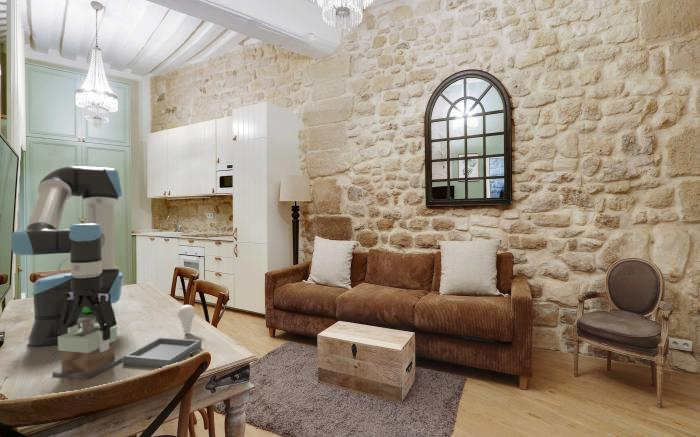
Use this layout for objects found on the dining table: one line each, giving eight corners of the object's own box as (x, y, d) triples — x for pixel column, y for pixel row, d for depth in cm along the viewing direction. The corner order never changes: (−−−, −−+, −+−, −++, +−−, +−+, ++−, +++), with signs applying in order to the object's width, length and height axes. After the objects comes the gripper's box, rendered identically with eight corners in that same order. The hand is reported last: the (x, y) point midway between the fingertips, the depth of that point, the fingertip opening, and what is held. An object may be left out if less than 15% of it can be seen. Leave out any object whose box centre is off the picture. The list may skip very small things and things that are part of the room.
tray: (123, 364, 109) (123, 356, 109) (159, 344, 125) (159, 337, 125) (169, 368, 106) (169, 360, 106) (201, 347, 122) (201, 340, 122)
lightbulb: (176, 337, 131) (176, 307, 131) (179, 331, 137) (179, 303, 137) (194, 335, 133) (194, 306, 132) (197, 330, 139) (196, 302, 138)
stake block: (52, 375, 102) (50, 324, 101) (90, 357, 113) (88, 311, 113) (88, 379, 100) (86, 326, 99) (122, 360, 111) (121, 313, 111)
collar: (87, 353, 100) (87, 339, 100) (58, 350, 102) (57, 336, 102) (116, 339, 110) (116, 327, 110) (89, 337, 112) (89, 325, 112)
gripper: (42, 276, 104) (44, 351, 105) (109, 279, 100) (110, 357, 101) (66, 271, 111) (68, 341, 112) (129, 274, 107) (131, 346, 108)
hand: (88, 349), depth 106 cm, fingers closed on collar, 10 cm apart
